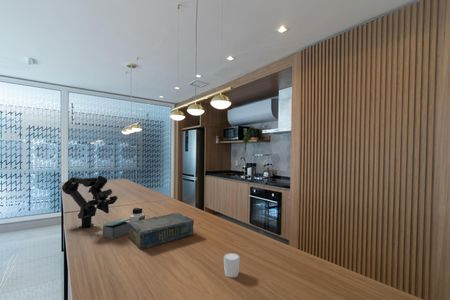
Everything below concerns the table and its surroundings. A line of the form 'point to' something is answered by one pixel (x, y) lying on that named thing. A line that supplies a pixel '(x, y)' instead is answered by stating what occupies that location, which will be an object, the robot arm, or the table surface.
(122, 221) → the lid
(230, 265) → the shot glass
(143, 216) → the medicine bottle
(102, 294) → the table surface
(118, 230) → the storage box
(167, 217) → the metal box
